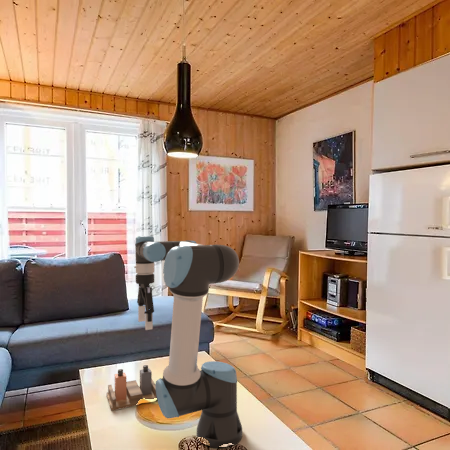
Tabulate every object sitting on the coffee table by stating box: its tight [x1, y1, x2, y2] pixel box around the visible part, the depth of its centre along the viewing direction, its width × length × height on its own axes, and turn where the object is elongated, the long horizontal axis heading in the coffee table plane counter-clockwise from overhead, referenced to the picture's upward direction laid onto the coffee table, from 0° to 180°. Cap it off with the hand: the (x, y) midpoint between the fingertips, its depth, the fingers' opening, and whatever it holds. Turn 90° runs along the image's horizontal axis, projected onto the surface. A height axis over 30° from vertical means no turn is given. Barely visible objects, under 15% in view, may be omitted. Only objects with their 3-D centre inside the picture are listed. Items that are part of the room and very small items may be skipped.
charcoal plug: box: [139, 364, 153, 395], centre depth 151 cm, size 4×4×11 cm
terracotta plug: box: [114, 368, 127, 401], centre depth 146 cm, size 4×4×11 cm
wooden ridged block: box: [106, 379, 157, 411], centre depth 149 cm, size 14×19×4 cm
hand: (145, 325), depth 151 cm, fingers open, 13 cm apart
